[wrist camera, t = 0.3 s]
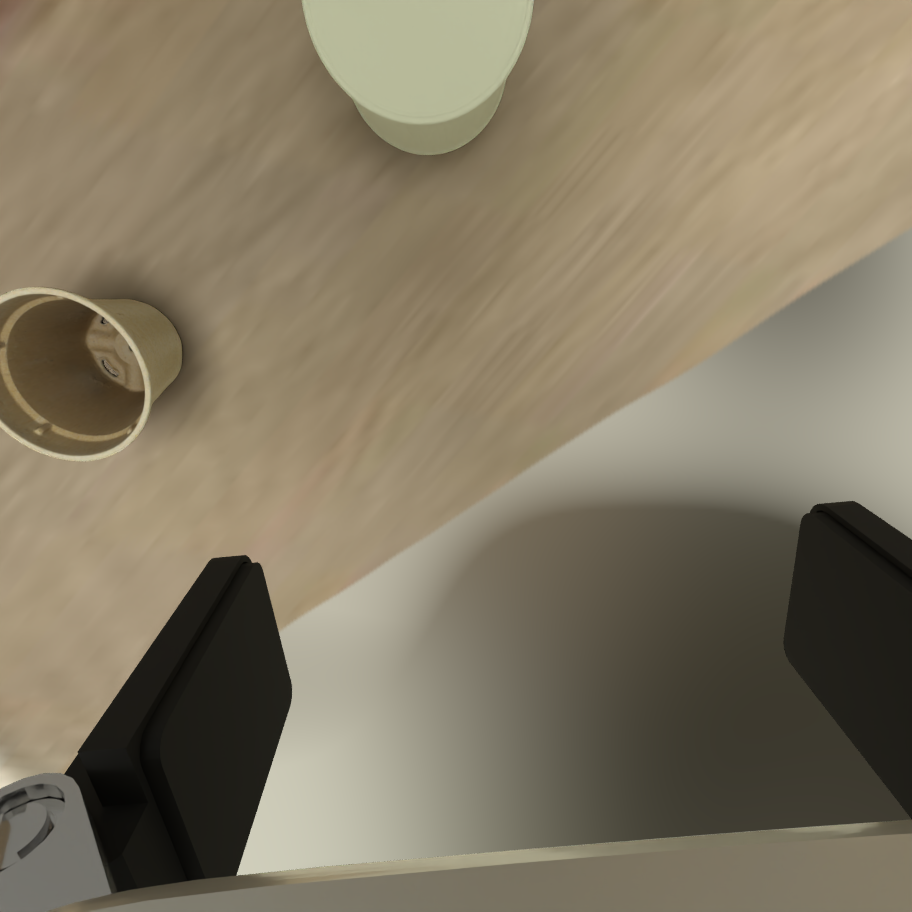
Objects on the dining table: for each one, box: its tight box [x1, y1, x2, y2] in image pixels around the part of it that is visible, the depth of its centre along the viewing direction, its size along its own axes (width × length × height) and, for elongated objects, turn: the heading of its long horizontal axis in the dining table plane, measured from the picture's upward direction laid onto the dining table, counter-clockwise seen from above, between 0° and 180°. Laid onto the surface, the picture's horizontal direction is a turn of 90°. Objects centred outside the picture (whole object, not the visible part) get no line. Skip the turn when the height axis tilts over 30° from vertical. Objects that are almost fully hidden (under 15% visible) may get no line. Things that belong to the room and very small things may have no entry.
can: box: [302, 0, 534, 155], centre depth 28 cm, size 9×9×12 cm
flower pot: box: [0, 287, 182, 461], centre depth 35 cm, size 9×9×9 cm
